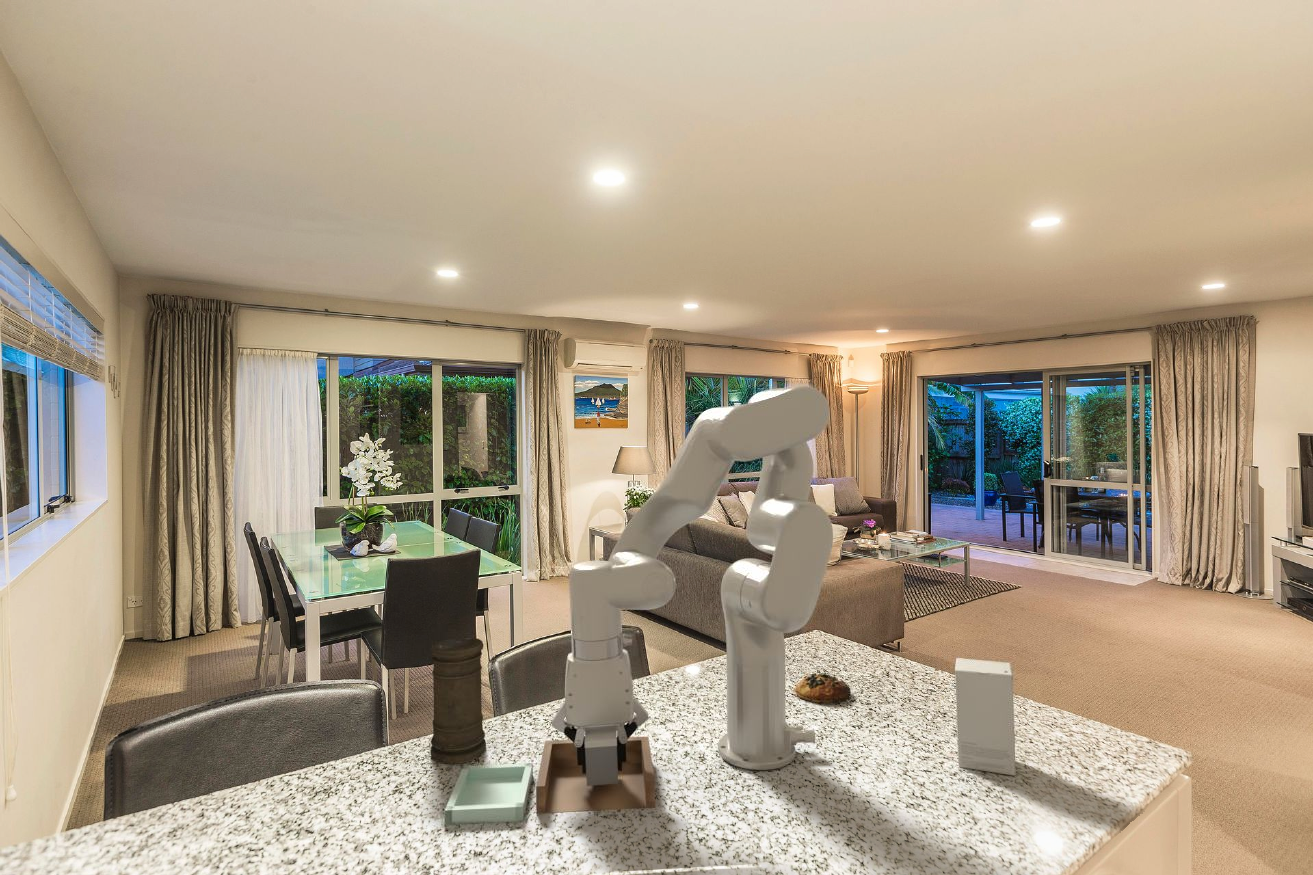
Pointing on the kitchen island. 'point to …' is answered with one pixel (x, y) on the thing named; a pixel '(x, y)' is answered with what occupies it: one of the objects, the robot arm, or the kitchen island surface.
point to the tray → (490, 794)
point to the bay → (570, 793)
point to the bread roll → (822, 689)
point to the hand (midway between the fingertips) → (602, 766)
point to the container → (457, 700)
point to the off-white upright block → (601, 755)
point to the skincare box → (985, 716)
